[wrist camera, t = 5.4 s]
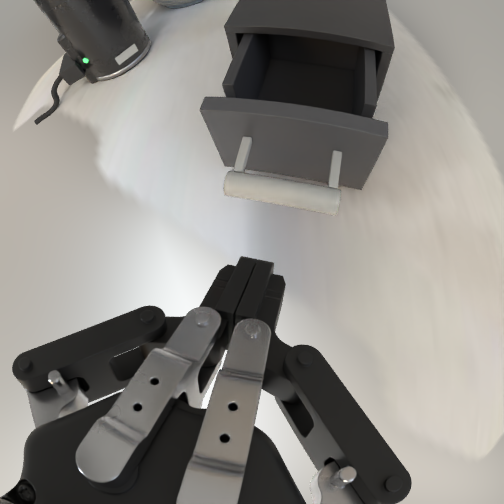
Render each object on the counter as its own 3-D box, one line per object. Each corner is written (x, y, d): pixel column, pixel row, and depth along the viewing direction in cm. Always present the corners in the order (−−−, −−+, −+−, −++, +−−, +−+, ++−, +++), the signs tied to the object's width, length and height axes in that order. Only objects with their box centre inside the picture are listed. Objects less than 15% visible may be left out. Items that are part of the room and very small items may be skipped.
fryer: (370, 120, 24) (394, 47, 15) (242, 100, 27) (223, 26, 17) (369, 37, 27) (380, -22, 18) (270, 23, 29) (262, -36, 20)
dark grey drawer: (355, 241, 22) (385, 205, 14) (210, 214, 23) (176, 169, 16) (367, 76, 25) (380, 20, 17) (258, 61, 26) (249, 4, 19)
